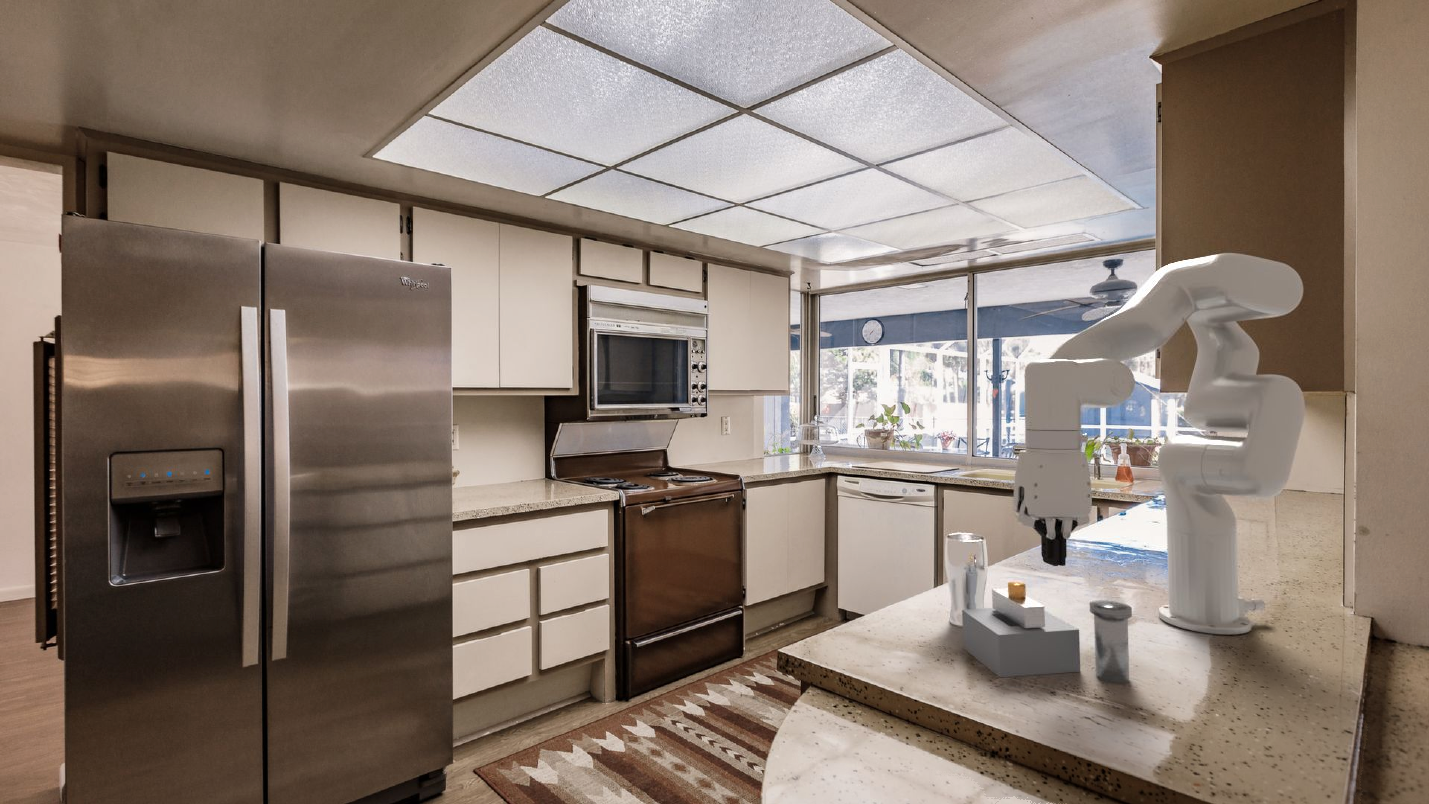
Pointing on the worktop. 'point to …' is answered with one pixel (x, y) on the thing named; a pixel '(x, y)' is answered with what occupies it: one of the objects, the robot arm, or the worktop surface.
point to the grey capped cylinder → (1111, 640)
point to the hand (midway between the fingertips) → (1054, 563)
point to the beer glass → (965, 573)
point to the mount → (1020, 644)
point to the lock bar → (1018, 606)
